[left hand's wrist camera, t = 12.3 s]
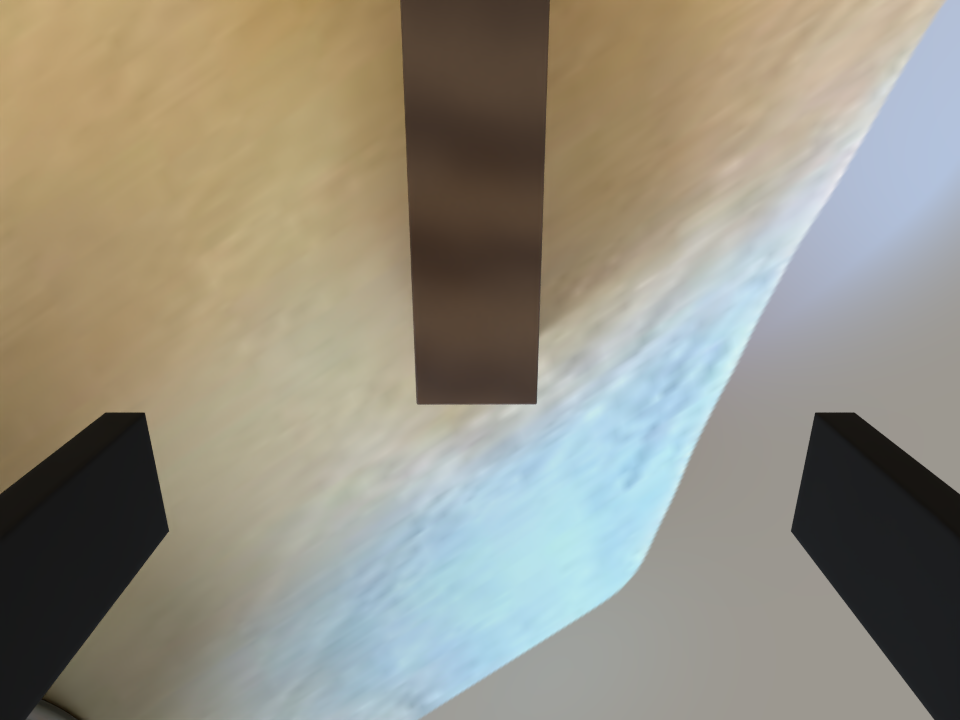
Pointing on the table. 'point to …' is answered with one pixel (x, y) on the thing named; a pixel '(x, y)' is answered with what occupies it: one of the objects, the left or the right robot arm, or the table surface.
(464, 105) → the bar
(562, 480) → the table surface
